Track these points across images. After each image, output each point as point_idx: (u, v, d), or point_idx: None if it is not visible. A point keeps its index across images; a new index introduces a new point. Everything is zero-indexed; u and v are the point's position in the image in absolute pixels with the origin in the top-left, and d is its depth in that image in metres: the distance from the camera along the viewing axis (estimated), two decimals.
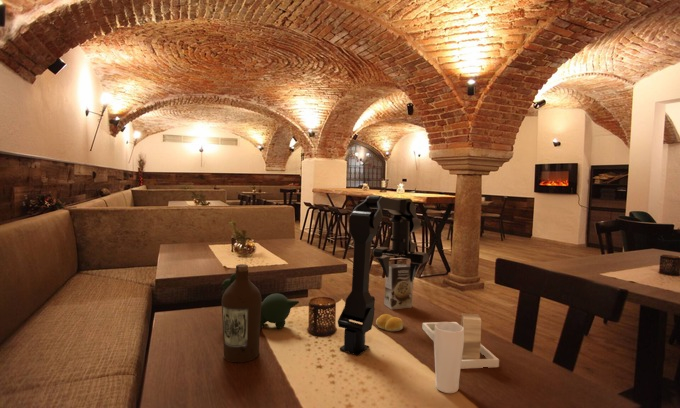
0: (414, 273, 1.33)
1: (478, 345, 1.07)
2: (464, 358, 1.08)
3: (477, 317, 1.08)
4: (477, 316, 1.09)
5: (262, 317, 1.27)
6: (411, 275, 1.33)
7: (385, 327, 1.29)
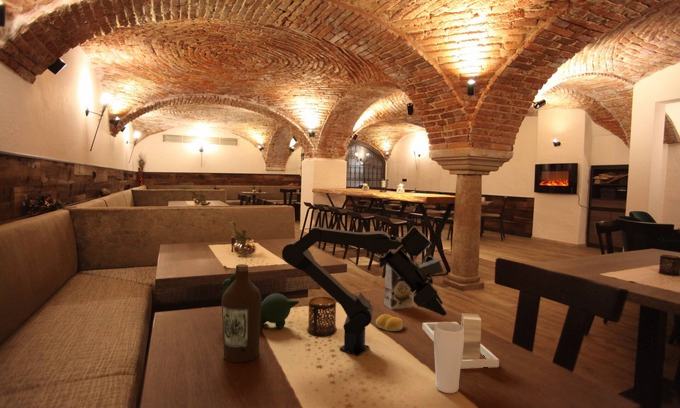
0: (436, 308, 1.05)
1: (478, 345, 1.07)
2: (464, 358, 1.08)
3: (477, 317, 1.08)
4: (477, 316, 1.09)
5: (262, 317, 1.27)
6: None
7: (385, 327, 1.29)
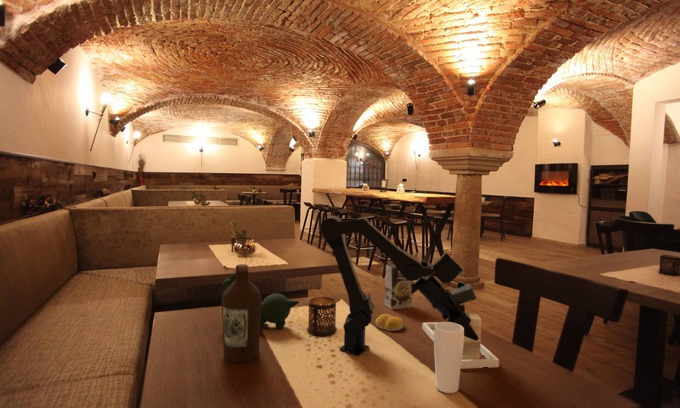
0: (469, 333, 1.06)
1: (478, 345, 1.07)
2: (464, 358, 1.08)
3: (477, 317, 1.08)
4: (477, 316, 1.09)
5: (262, 317, 1.27)
6: None
7: (385, 327, 1.29)
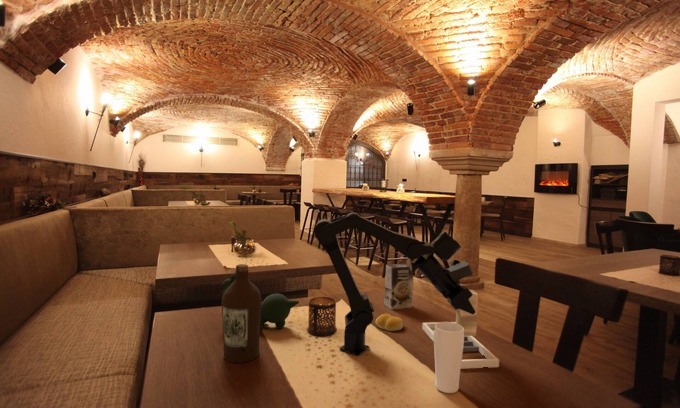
0: (467, 307, 1.11)
1: (475, 318, 1.12)
2: None
3: (473, 292, 1.13)
4: (472, 291, 1.14)
5: (262, 317, 1.27)
6: None
7: (385, 327, 1.30)
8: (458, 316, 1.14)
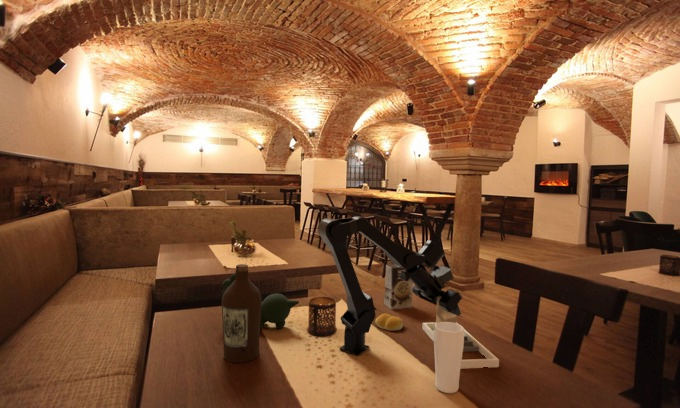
0: (455, 310, 1.20)
1: (455, 320, 1.25)
2: None
3: None
4: None
5: (262, 317, 1.27)
6: None
7: (385, 326, 1.30)
8: (440, 320, 1.25)
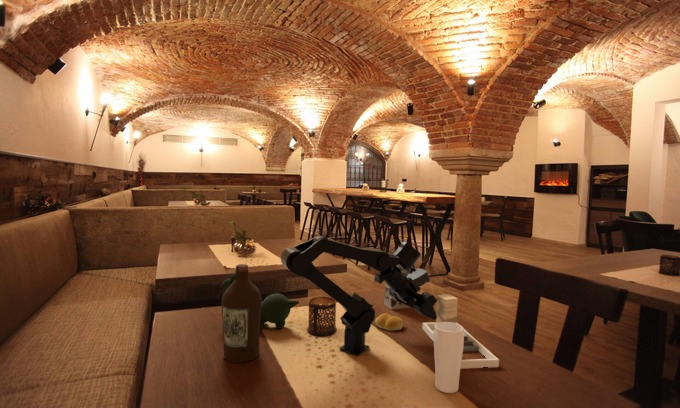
0: (431, 314, 1.17)
1: (455, 320, 1.25)
2: None
3: (452, 296, 1.26)
4: (450, 295, 1.27)
5: (262, 317, 1.27)
6: (429, 317, 1.17)
7: (385, 326, 1.30)
8: (440, 320, 1.25)
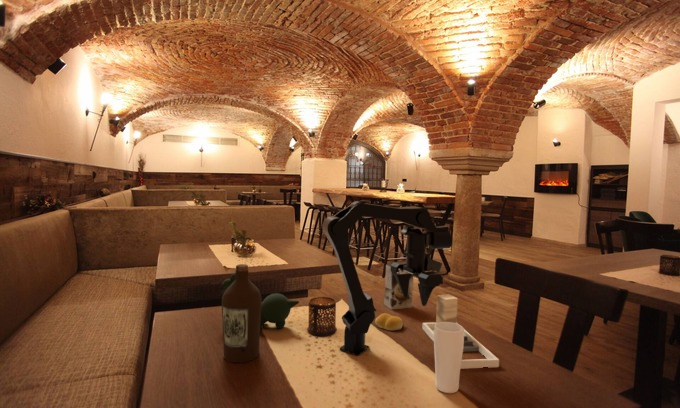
0: (425, 296, 1.13)
1: (455, 320, 1.25)
2: None
3: (452, 296, 1.26)
4: (450, 295, 1.27)
5: (262, 317, 1.27)
6: (421, 298, 1.13)
7: (385, 326, 1.30)
8: (440, 320, 1.25)
